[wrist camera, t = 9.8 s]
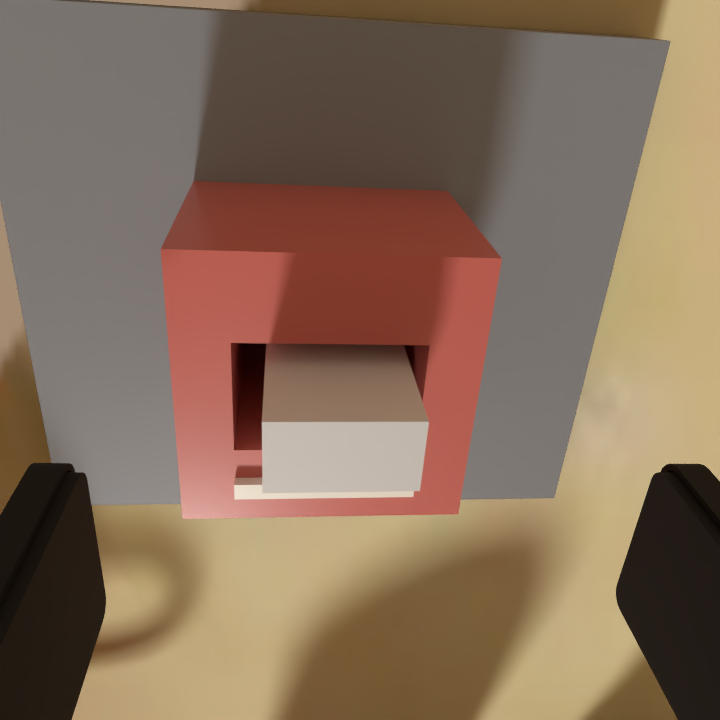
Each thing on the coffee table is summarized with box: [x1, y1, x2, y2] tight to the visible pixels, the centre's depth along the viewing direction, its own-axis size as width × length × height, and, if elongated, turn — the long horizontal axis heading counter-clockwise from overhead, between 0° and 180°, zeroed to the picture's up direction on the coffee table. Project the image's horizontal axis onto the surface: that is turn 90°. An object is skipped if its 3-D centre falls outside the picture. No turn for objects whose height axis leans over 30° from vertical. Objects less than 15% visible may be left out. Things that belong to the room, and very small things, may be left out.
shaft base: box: [0, 0, 670, 505], centre depth 16 cm, size 16×14×8 cm
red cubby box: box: [161, 181, 502, 519], centre depth 16 cm, size 6×6×5 cm
